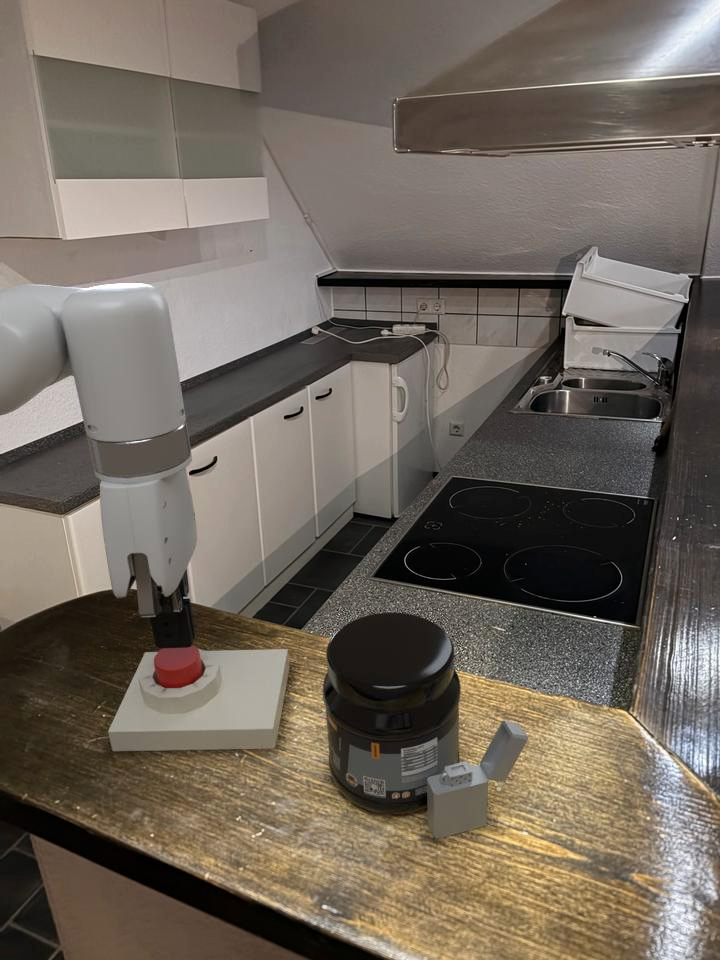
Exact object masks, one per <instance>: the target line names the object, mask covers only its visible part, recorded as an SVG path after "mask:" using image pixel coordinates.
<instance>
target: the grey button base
mask: <svg viewBox="0 0 720 960" xmlns="http://www.w3.org/2000/svg"><path fill="white" fill-rule="evenodd" d="M198 650H199V653H200V659H201V665H202V675H201V677H200V678H199V679H198V680H197V681H196V682H195V683H193V684H190V685H188V686H185V687H182V688H164V687H162V686H161V685H160V684H159V683H158V681H157V677H156V672H155V667H154V657H155V656H156V654H157V653H158V652H159V651H145V652H144V653H143V656H142V658H141V660H140V662H139V665H138V667H137V668H136V671H135V672H134V675H133V677H132V680H131V681H130V684H129V686H128V688H127V690H126V692H125V694H124V697H123V698H122V701H121V703H120V705H119V707H118V709H117V712H116V713H115V715H114V718H113V720H112V722H111V723H110V726H109V728H108V731H107V734H108V737H109V742H110V746H111V751H112V752H154V751H155V752H157V751H159V752H161V751H162V752H163V751H164V752H165V751H215V750H219V751H221V750H223V751H224V750H271V749H272V750H275V749H276V747H277V742H278V736H279V729H280V723H281V720H282V719H281V718H282V714H283V713H282V712H283V707H284V701H285V695H286V690H287V685H288V680H289V673H290V667H291V666H290V657H289V649H288V648H276V649H274V648H273V649H271V648H270V649H232V650H231V649H230V650H229V649H226V650H204V649H202V648H201V649H200V648H198Z"/></svg>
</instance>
